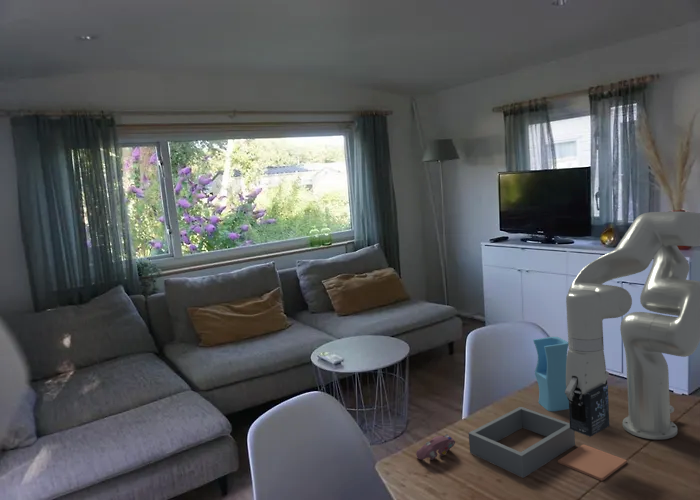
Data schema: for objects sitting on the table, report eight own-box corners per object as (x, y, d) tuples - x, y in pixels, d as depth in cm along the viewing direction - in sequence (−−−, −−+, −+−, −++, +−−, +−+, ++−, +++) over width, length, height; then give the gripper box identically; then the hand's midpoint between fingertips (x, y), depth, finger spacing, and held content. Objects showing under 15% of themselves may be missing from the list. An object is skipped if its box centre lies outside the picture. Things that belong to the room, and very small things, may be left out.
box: (591, 437, 117) (589, 393, 116) (569, 429, 122) (567, 387, 121) (610, 426, 122) (608, 384, 120) (588, 419, 126) (586, 378, 125)
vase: (536, 401, 159) (532, 339, 157) (560, 397, 160) (556, 336, 157) (549, 412, 151) (545, 346, 149) (574, 408, 152) (570, 343, 150)
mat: (583, 446, 131) (583, 444, 131) (627, 462, 122) (626, 460, 121) (558, 462, 124) (558, 460, 124) (602, 481, 115) (601, 478, 115)
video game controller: (423, 469, 131) (428, 451, 127) (413, 455, 134) (418, 437, 130) (453, 456, 135) (459, 438, 132) (443, 443, 139) (449, 425, 135)
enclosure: (521, 424, 145) (520, 406, 145) (575, 444, 132) (574, 424, 131) (470, 452, 133) (468, 432, 133) (523, 478, 120) (521, 455, 119)
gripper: (590, 331, 128) (594, 398, 129) (549, 349, 118) (553, 421, 120) (621, 337, 121) (623, 407, 123) (579, 355, 112) (583, 431, 114)
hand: (589, 413), depth 122 cm, fingers closed on box, 8 cm apart
